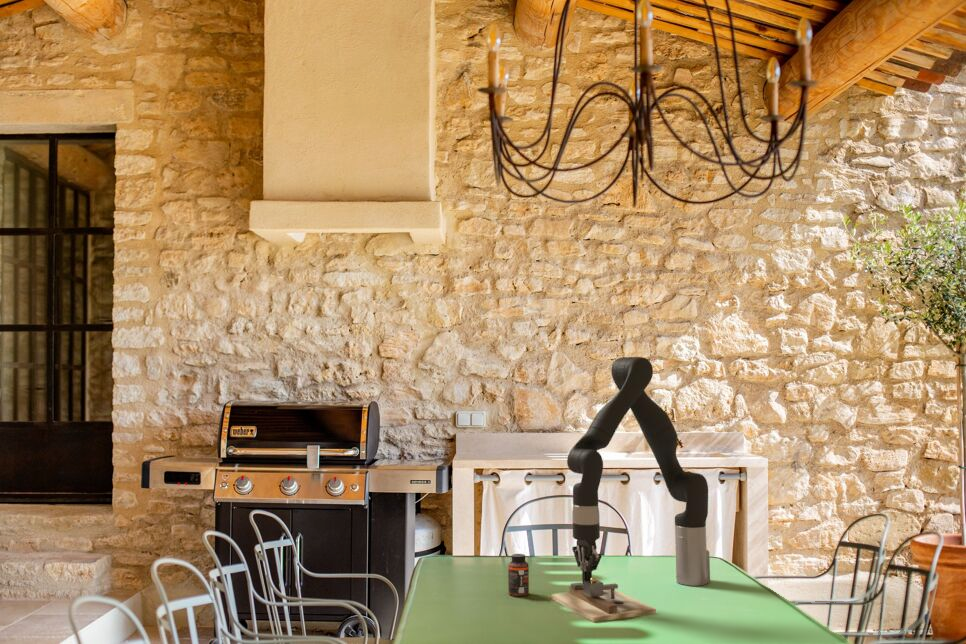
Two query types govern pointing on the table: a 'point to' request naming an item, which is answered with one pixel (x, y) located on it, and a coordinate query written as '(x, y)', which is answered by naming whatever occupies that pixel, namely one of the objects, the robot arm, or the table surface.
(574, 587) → the bar
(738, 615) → the table surface
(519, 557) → the supplement bottle
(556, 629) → the table surface
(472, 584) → the table surface
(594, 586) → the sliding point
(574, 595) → the wooden slider puzzle board
